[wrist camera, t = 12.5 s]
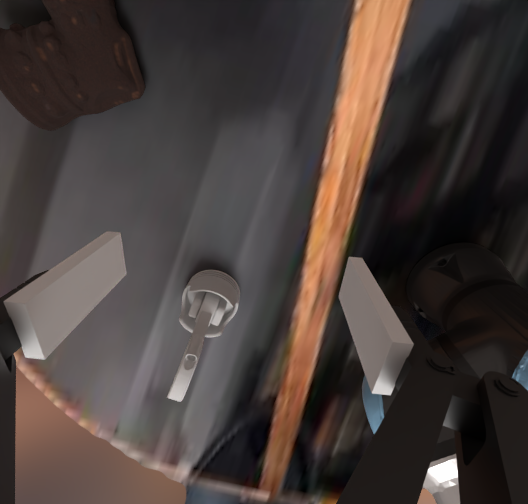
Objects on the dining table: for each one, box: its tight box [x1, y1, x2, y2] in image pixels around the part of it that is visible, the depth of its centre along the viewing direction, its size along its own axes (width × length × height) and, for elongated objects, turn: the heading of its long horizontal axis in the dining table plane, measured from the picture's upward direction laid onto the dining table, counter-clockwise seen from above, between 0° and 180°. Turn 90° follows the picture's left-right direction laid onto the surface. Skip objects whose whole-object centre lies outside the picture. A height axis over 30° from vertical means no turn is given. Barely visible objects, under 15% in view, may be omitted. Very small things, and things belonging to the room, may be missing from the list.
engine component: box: [167, 270, 240, 402], centre depth 43 cm, size 11×20×10 cm
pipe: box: [0, 0, 145, 131], centre depth 33 cm, size 10×15×15 cm
